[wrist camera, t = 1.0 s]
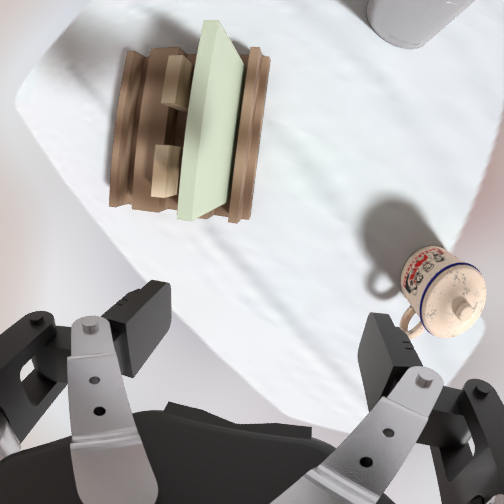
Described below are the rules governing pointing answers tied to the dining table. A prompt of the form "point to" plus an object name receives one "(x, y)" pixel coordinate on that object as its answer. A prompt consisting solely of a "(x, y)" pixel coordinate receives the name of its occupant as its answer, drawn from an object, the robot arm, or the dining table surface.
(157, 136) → the rack
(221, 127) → the panel
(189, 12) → the dining table surface
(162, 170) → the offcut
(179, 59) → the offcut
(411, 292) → the teacup with lid
